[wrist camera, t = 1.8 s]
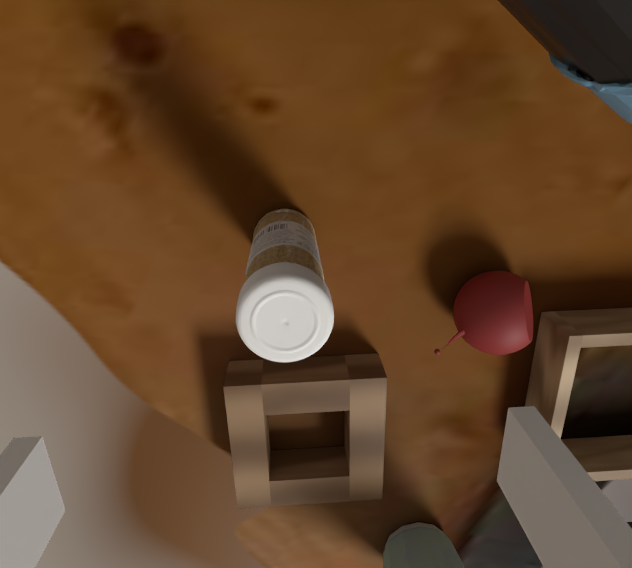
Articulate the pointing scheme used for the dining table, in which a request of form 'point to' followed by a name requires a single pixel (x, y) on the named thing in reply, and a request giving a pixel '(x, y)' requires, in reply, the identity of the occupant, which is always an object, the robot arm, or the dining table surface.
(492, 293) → the fruit
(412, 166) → the dining table surface
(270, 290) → the sprinkles bottle
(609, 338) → the open square frame
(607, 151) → the dining table surface
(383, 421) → the collar block
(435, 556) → the disposable coffee cup
